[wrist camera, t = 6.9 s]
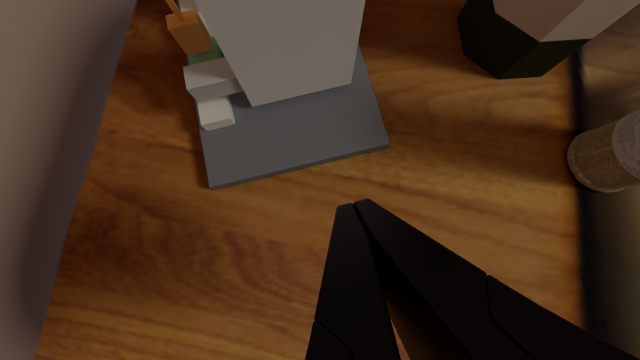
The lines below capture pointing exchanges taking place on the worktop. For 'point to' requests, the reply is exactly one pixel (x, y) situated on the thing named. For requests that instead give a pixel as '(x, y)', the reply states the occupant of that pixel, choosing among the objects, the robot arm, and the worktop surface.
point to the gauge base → (284, 126)
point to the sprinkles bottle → (608, 155)
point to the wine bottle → (532, 32)
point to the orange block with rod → (188, 29)
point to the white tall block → (277, 48)
